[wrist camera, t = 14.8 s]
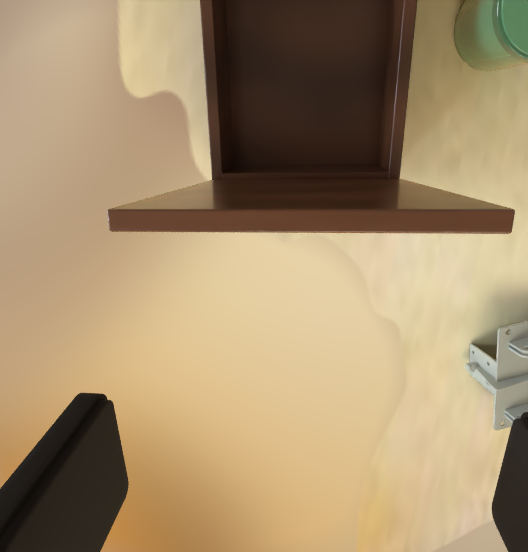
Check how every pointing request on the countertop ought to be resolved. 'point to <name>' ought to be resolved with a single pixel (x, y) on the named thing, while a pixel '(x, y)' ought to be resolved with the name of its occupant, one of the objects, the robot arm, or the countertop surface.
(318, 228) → the bin lid
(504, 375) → the metal bracket
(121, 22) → the countertop surface
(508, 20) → the pot
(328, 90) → the bin
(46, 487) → the robot arm
